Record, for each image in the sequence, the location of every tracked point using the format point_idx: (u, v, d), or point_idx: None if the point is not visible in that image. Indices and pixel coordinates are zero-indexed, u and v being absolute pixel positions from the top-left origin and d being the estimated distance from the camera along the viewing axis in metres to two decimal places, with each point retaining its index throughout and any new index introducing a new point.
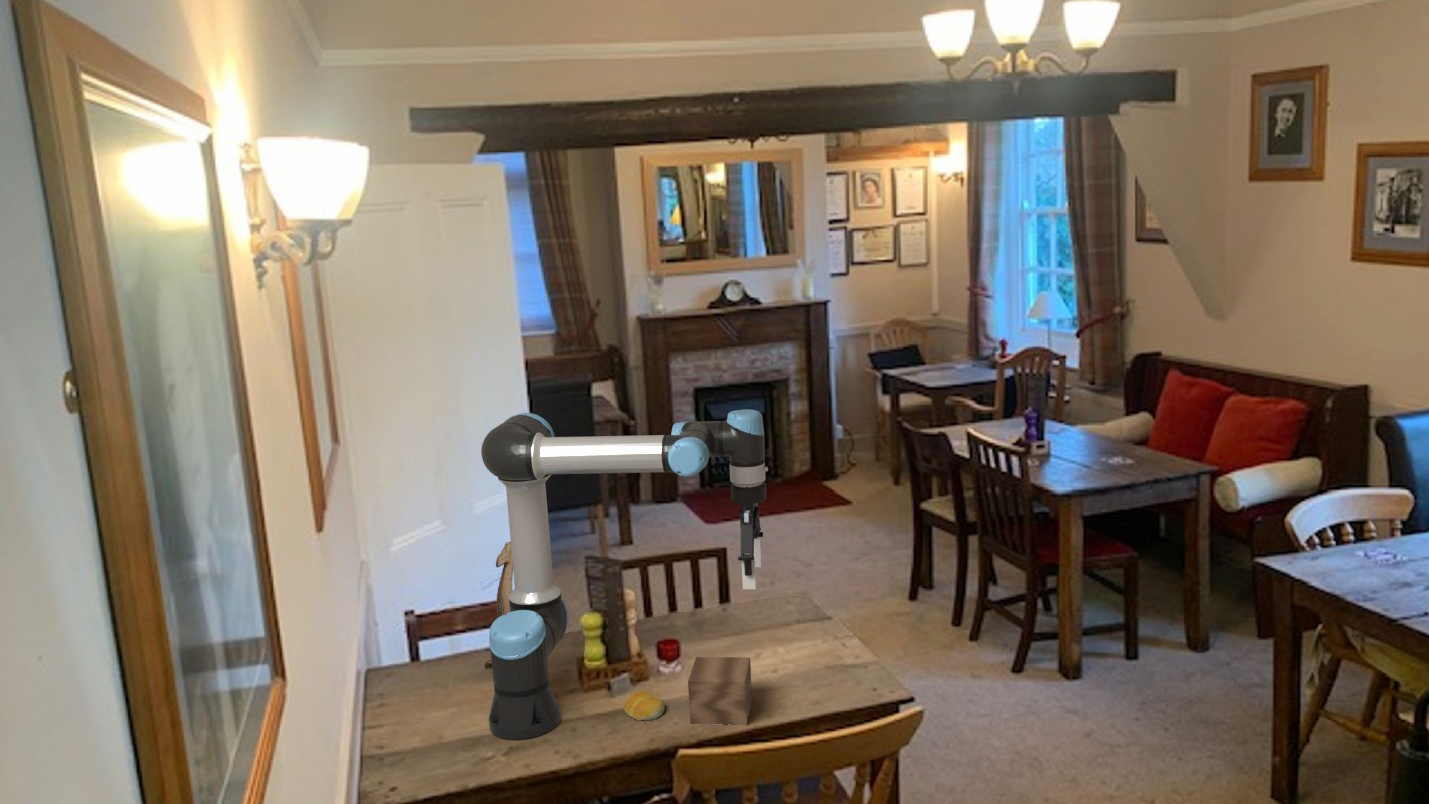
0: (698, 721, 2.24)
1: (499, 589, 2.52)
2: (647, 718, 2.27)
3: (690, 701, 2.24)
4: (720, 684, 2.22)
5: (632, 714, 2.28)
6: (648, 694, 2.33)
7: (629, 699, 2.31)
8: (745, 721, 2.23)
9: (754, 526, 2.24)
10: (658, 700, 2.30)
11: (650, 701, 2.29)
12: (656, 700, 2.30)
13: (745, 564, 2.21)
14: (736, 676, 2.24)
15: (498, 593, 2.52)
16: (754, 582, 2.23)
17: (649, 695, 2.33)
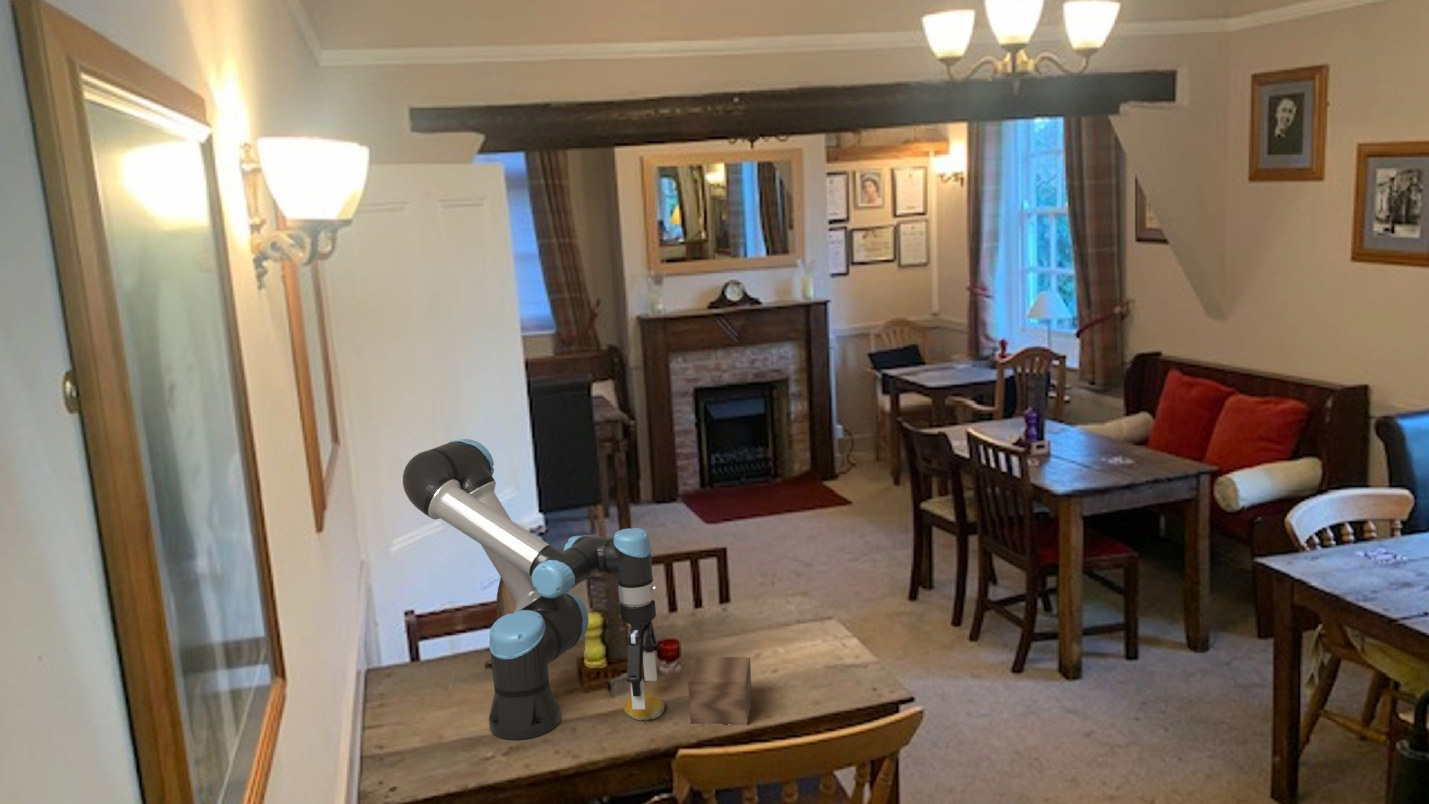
0: (698, 721, 2.24)
1: (499, 589, 2.52)
2: (647, 718, 2.27)
3: (690, 701, 2.24)
4: (720, 684, 2.22)
5: (632, 714, 2.28)
6: (648, 694, 2.33)
7: (629, 699, 2.31)
8: (745, 721, 2.23)
9: (643, 646, 2.24)
10: (658, 700, 2.30)
11: (650, 701, 2.29)
12: (656, 700, 2.30)
13: (633, 685, 2.21)
14: (737, 676, 2.24)
15: (498, 593, 2.52)
16: (643, 702, 2.23)
17: (649, 695, 2.33)
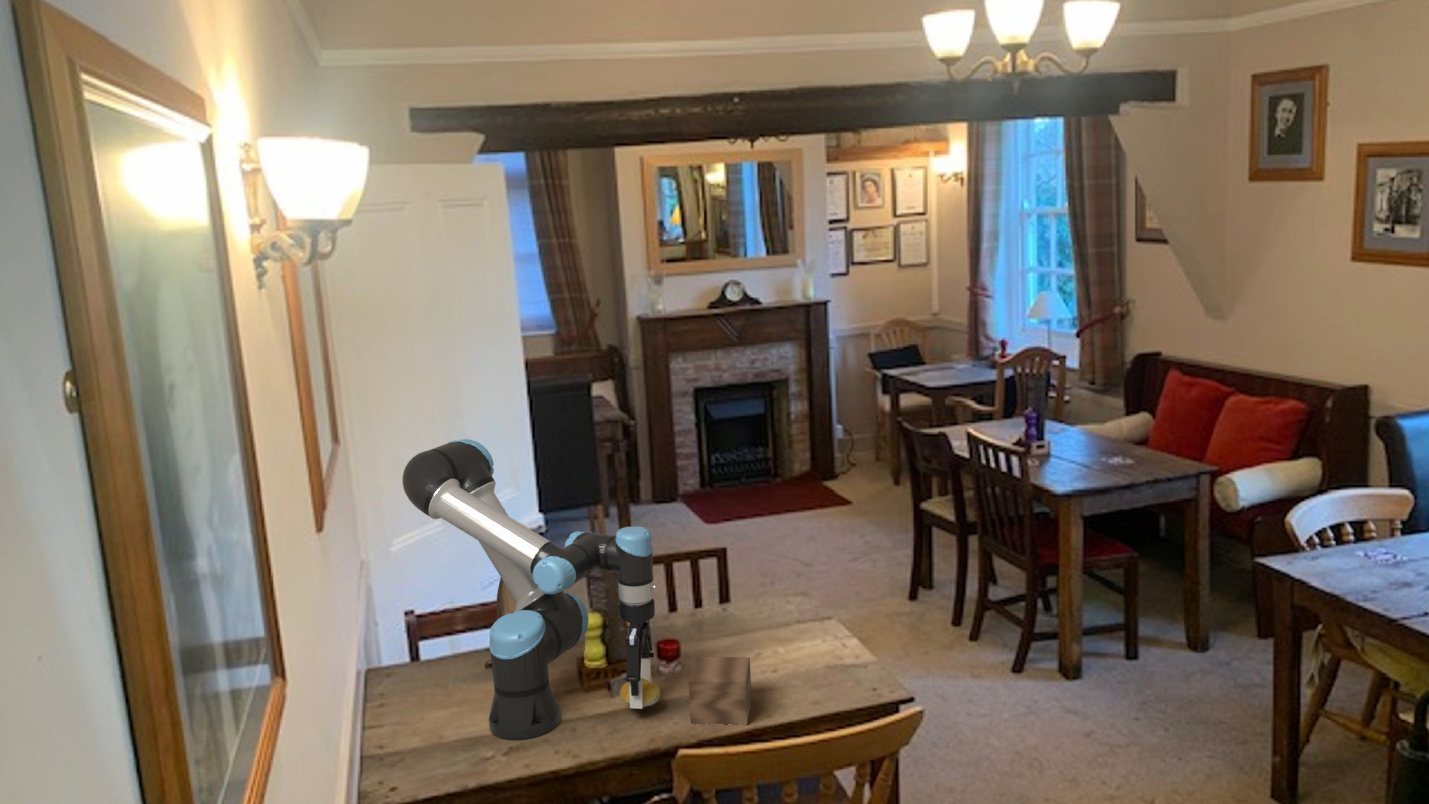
0: (698, 721, 2.24)
1: (499, 589, 2.52)
2: (643, 704, 2.27)
3: (690, 701, 2.24)
4: (720, 684, 2.22)
5: (628, 700, 2.28)
6: (644, 680, 2.32)
7: (625, 685, 2.31)
8: (746, 721, 2.23)
9: (641, 645, 2.25)
10: (654, 686, 2.30)
11: (647, 687, 2.28)
12: (652, 687, 2.29)
13: (632, 685, 2.24)
14: (737, 676, 2.24)
15: (498, 593, 2.52)
16: (641, 702, 2.26)
17: (645, 681, 2.32)
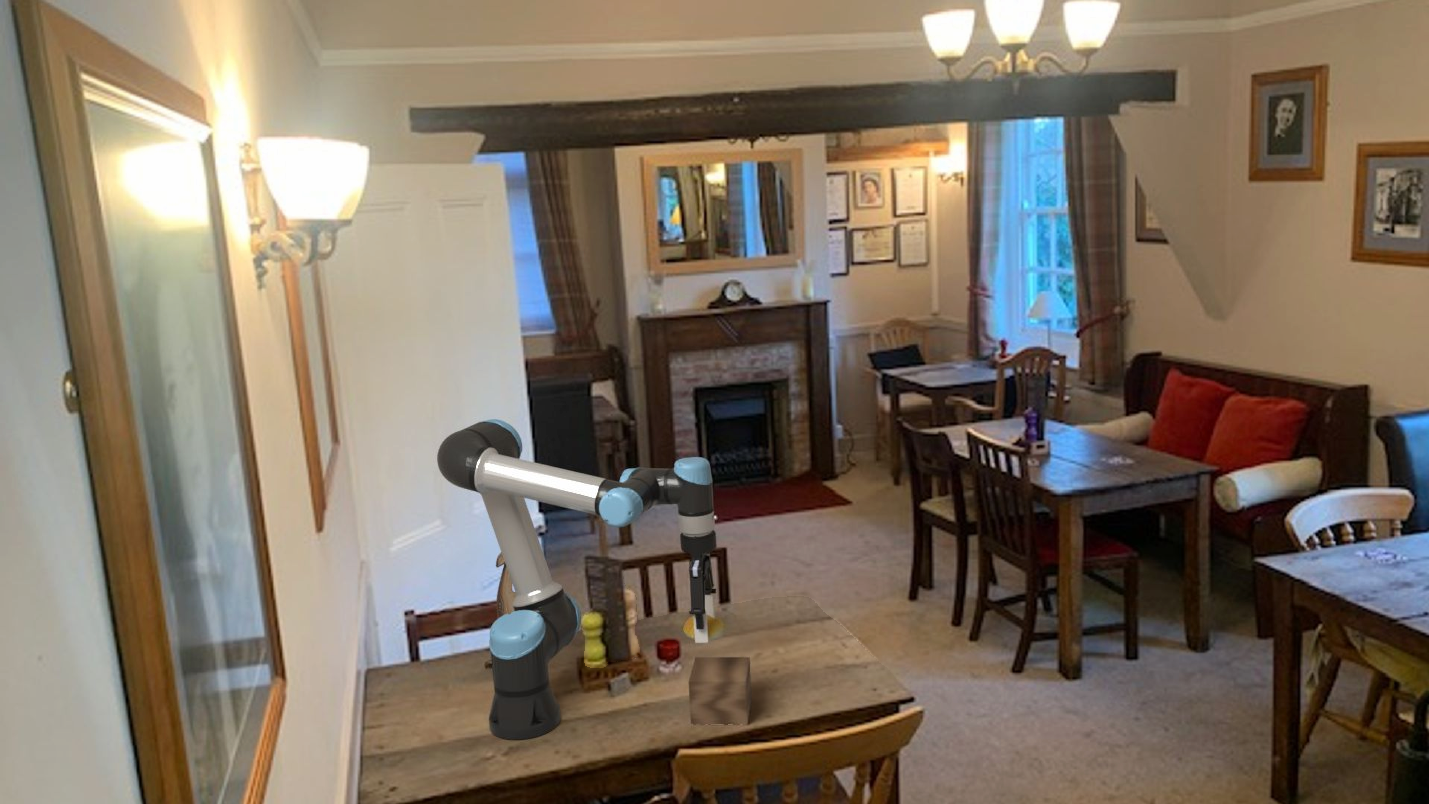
0: (699, 721, 2.24)
1: (499, 589, 2.52)
2: (709, 638, 2.22)
3: (691, 701, 2.23)
4: (720, 684, 2.22)
5: (693, 635, 2.23)
6: (708, 616, 2.28)
7: (689, 621, 2.26)
8: (746, 721, 2.23)
9: (704, 578, 2.21)
10: (719, 621, 2.25)
11: (711, 622, 2.24)
12: (717, 621, 2.24)
13: (696, 618, 2.19)
14: (737, 676, 2.24)
15: (498, 593, 2.52)
16: (706, 636, 2.21)
17: (709, 617, 2.28)
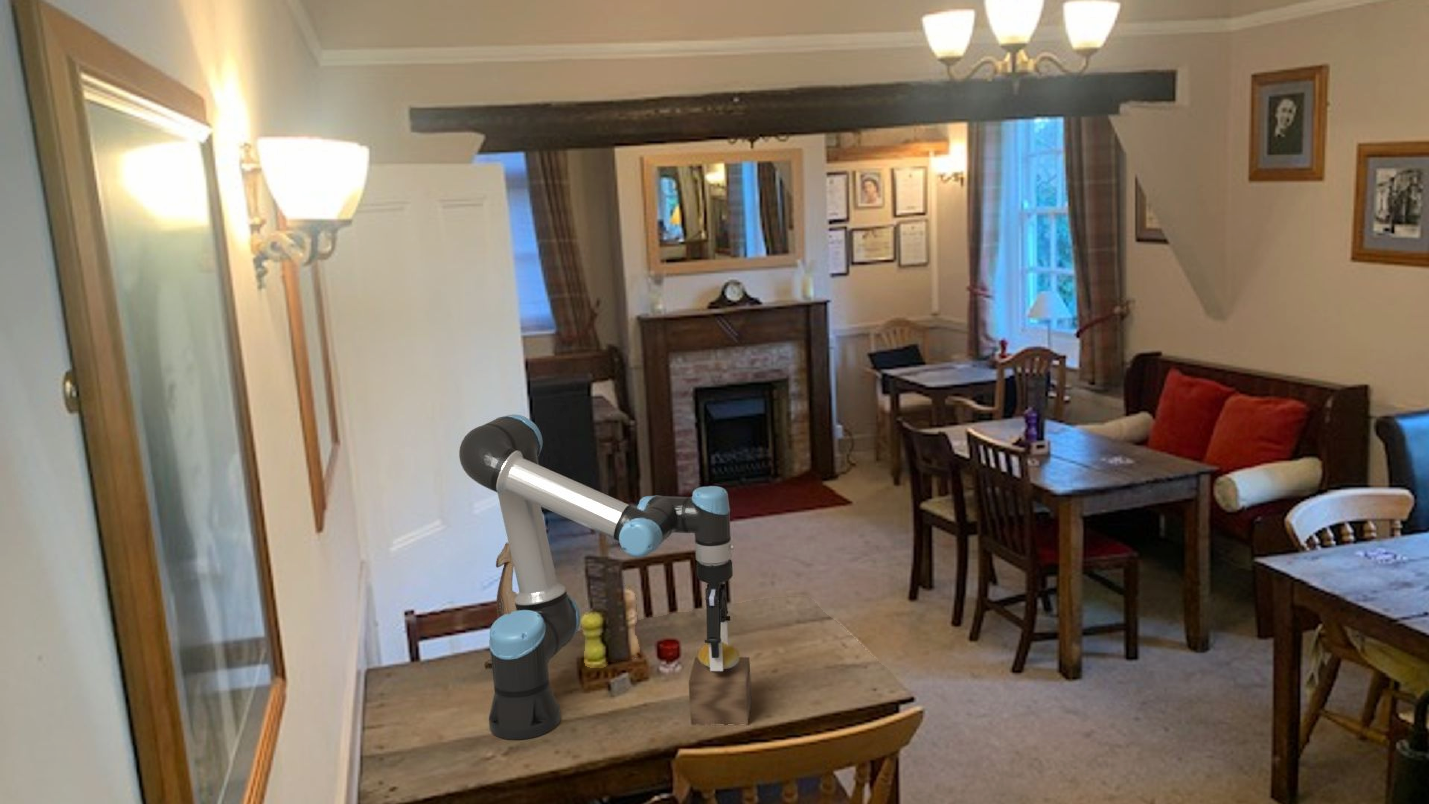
0: (699, 721, 2.24)
1: (499, 589, 2.52)
2: (723, 666, 2.23)
3: (691, 701, 2.23)
4: (721, 684, 2.22)
5: (708, 663, 2.24)
6: (722, 643, 2.29)
7: (704, 648, 2.27)
8: (746, 721, 2.23)
9: (720, 606, 2.22)
10: (733, 649, 2.26)
11: (726, 650, 2.25)
12: (732, 649, 2.26)
13: (712, 647, 2.20)
14: (737, 676, 2.24)
15: (498, 593, 2.52)
16: (721, 664, 2.22)
17: (723, 644, 2.29)
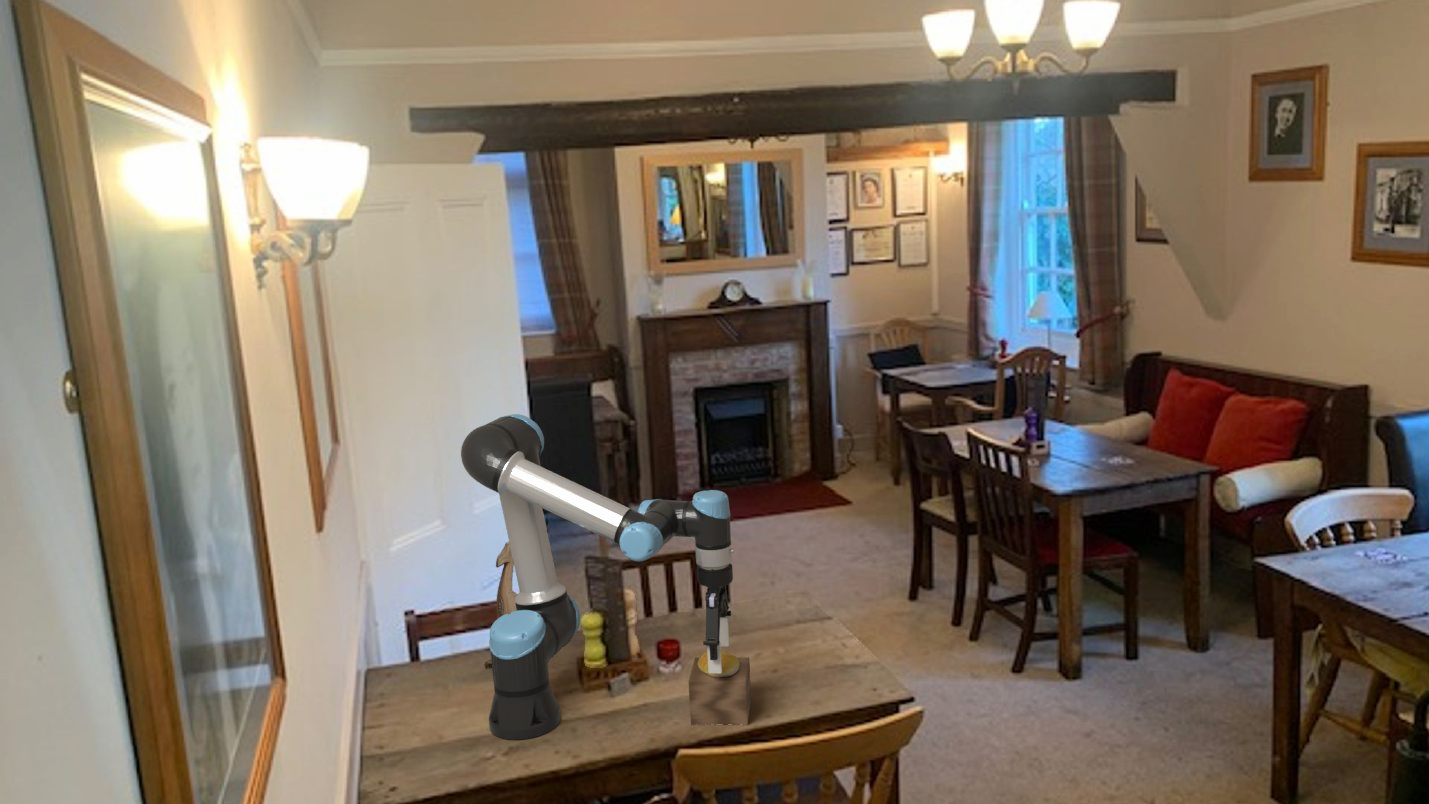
0: (699, 722, 2.24)
1: (499, 589, 2.52)
2: (723, 675, 2.23)
3: (691, 702, 2.23)
4: (720, 685, 2.22)
5: (707, 671, 2.25)
6: (722, 651, 2.29)
7: (703, 656, 2.27)
8: (746, 721, 2.23)
9: (720, 609, 2.21)
10: (733, 657, 2.26)
11: (726, 658, 2.25)
12: (731, 657, 2.26)
13: (710, 649, 2.18)
14: (737, 677, 2.24)
15: (498, 593, 2.52)
16: (720, 666, 2.20)
17: (723, 652, 2.29)
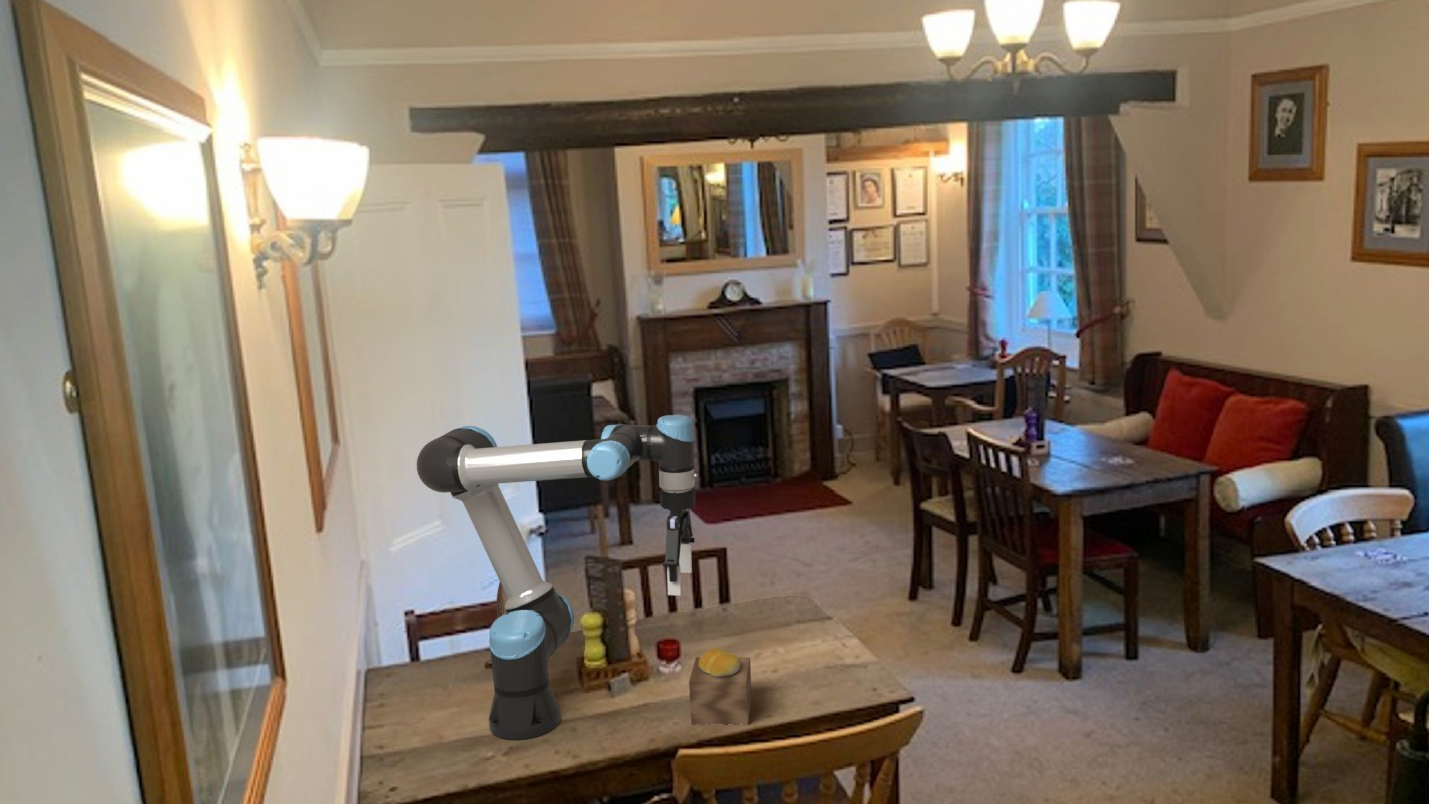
0: (699, 721, 2.24)
1: (499, 589, 2.52)
2: (725, 674, 2.23)
3: (691, 701, 2.23)
4: (721, 684, 2.22)
5: (709, 670, 2.25)
6: (723, 651, 2.29)
7: (704, 656, 2.27)
8: (746, 721, 2.23)
9: (681, 532, 2.23)
10: (734, 656, 2.26)
11: (727, 657, 2.25)
12: (732, 656, 2.26)
13: (670, 570, 2.20)
14: (737, 676, 2.24)
15: (498, 593, 2.52)
16: (679, 588, 2.22)
17: (724, 652, 2.29)
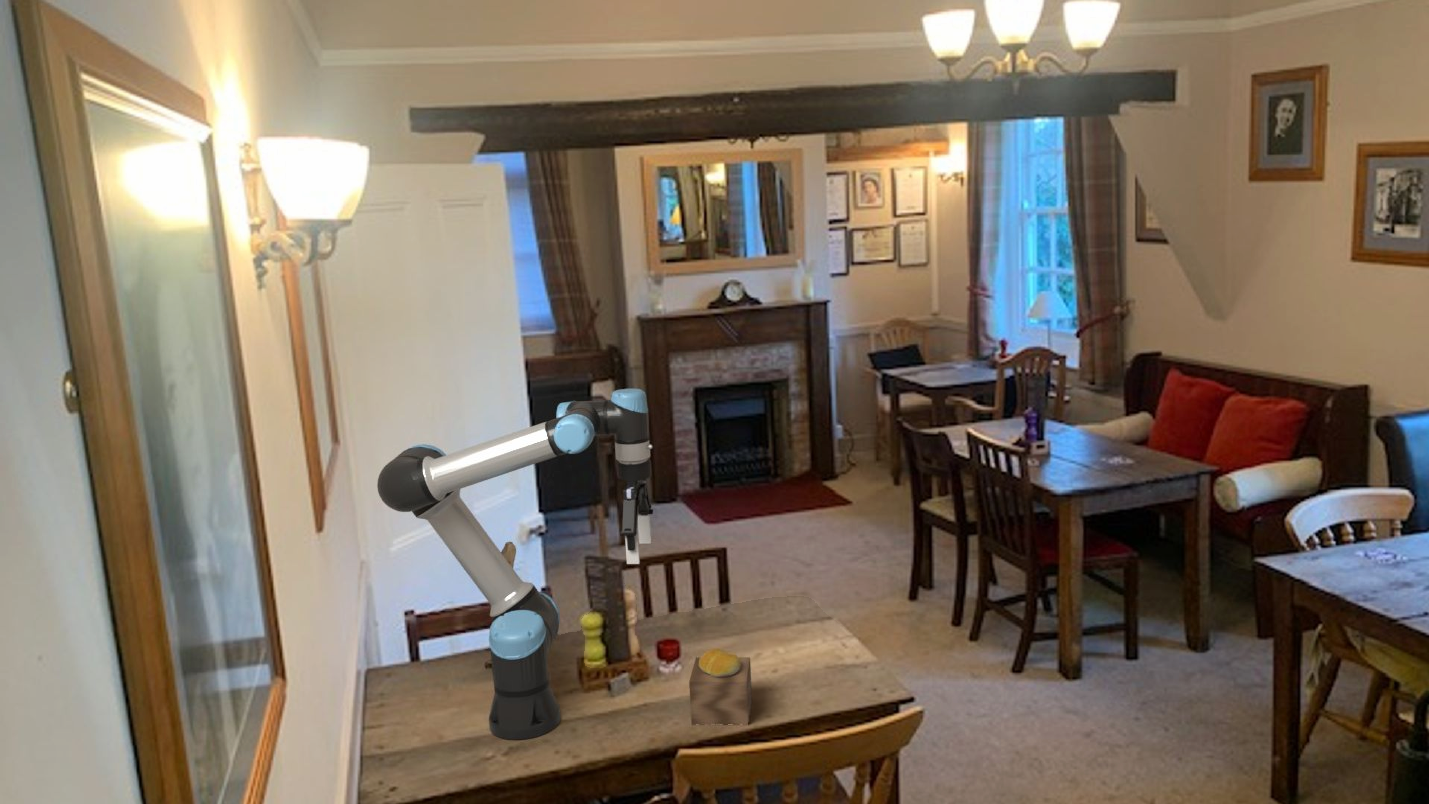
0: (699, 721, 2.24)
1: None
2: (725, 674, 2.23)
3: (691, 702, 2.23)
4: (721, 685, 2.22)
5: (709, 671, 2.25)
6: (723, 651, 2.29)
7: (704, 656, 2.27)
8: (746, 721, 2.23)
9: (638, 502, 2.29)
10: (734, 656, 2.27)
11: (727, 657, 2.25)
12: (733, 656, 2.26)
13: (628, 539, 2.26)
14: (737, 676, 2.24)
15: None
16: (637, 557, 2.28)
17: (724, 652, 2.29)
